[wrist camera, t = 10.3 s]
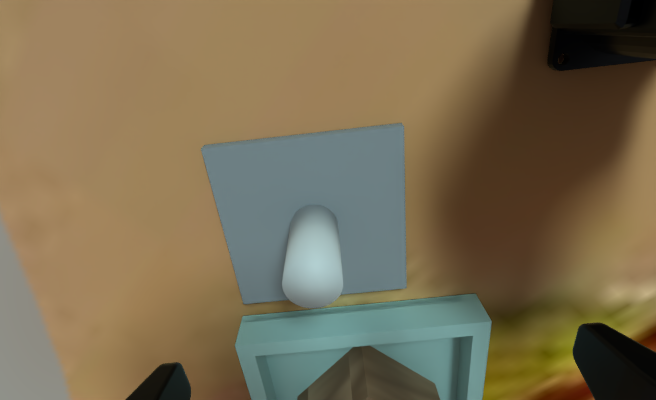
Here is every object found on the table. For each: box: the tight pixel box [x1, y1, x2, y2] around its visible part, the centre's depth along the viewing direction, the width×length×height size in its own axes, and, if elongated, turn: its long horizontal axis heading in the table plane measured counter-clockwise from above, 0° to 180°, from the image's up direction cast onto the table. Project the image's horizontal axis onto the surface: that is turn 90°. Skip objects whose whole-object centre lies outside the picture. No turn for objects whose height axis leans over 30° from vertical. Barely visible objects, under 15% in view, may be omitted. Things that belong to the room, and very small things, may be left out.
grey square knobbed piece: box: [201, 123, 406, 308], centre depth 18 cm, size 10×10×6 cm
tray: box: [235, 293, 492, 400], centre depth 25 cm, size 15×15×2 cm
